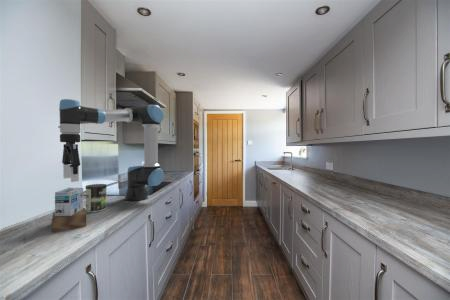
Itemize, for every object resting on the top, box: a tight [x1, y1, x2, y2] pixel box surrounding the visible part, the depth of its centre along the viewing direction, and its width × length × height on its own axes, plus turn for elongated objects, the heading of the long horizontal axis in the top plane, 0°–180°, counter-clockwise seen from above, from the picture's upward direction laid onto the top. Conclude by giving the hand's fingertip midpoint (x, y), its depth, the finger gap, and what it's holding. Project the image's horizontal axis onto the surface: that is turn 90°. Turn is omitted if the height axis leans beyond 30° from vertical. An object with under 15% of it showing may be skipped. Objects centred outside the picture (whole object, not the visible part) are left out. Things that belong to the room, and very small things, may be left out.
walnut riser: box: [51, 207, 87, 233], centre depth 94 cm, size 12×12×6 cm
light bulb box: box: [54, 187, 84, 216], centre depth 95 cm, size 11×7×11 cm, turn 10°
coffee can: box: [85, 183, 107, 213], centre depth 118 cm, size 10×10×14 cm
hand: (70, 179), depth 95 cm, fingers open, 13 cm apart
